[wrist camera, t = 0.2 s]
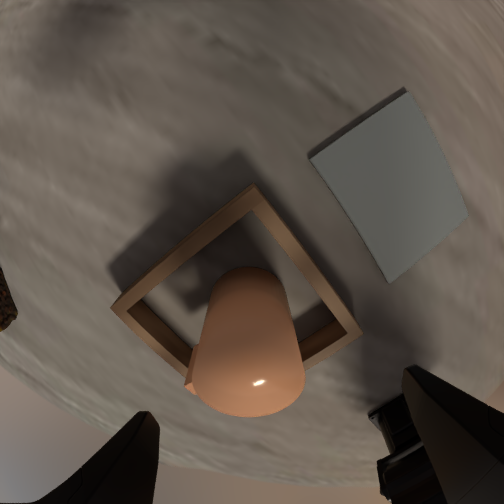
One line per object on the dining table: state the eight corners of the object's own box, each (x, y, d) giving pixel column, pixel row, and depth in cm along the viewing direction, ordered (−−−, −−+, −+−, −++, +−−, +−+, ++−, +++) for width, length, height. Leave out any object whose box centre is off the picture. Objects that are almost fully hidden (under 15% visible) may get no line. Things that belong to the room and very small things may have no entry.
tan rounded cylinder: (300, 306, 23) (325, 386, 14) (225, 354, 24) (217, 436, 16) (255, 251, 21) (259, 319, 13) (177, 308, 23) (146, 387, 14)
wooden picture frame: (354, 317, 23) (363, 333, 21) (229, 391, 26) (227, 410, 24) (253, 182, 19) (254, 186, 17) (121, 293, 22) (109, 307, 20)
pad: (466, 214, 20) (468, 215, 20) (387, 282, 22) (389, 284, 22) (406, 91, 17) (409, 90, 16) (308, 159, 19) (309, 159, 18)
